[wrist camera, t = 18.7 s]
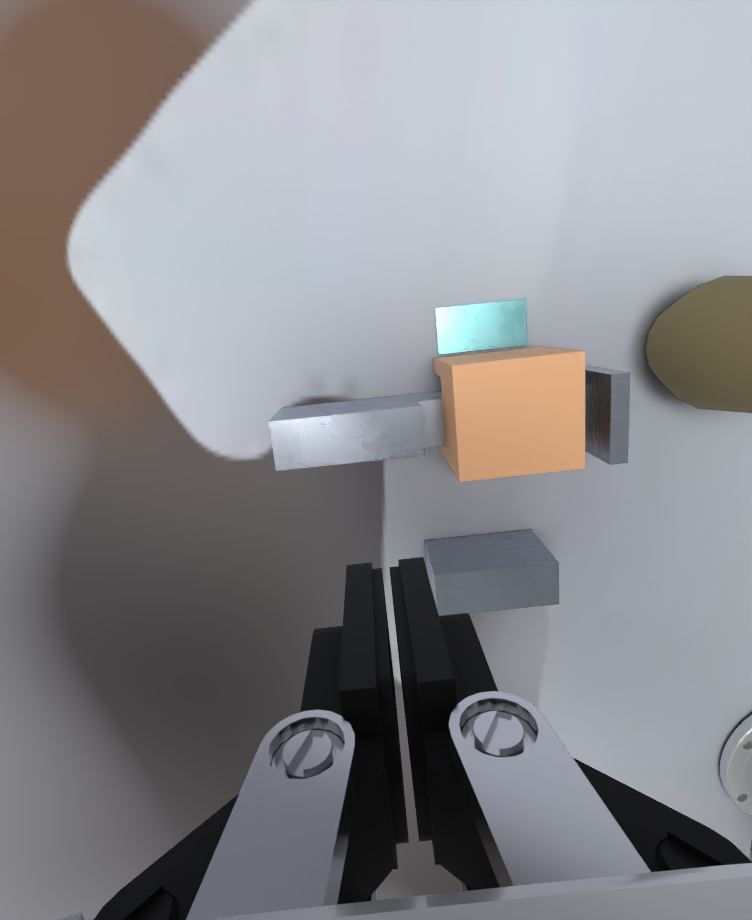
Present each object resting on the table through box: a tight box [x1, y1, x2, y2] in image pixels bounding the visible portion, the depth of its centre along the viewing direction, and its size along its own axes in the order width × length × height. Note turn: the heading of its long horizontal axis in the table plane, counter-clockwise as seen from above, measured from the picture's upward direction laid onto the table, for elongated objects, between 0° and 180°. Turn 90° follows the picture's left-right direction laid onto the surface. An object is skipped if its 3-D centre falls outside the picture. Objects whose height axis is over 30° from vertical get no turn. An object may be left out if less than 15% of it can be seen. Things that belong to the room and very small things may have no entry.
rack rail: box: [268, 299, 630, 471], centre depth 31 cm, size 10×20×8 cm, turn 96°
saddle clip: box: [434, 347, 585, 482], centre depth 30 cm, size 6×7×7 cm
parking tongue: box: [424, 529, 559, 616], centre depth 35 cm, size 3×8×6 cm, turn 96°
